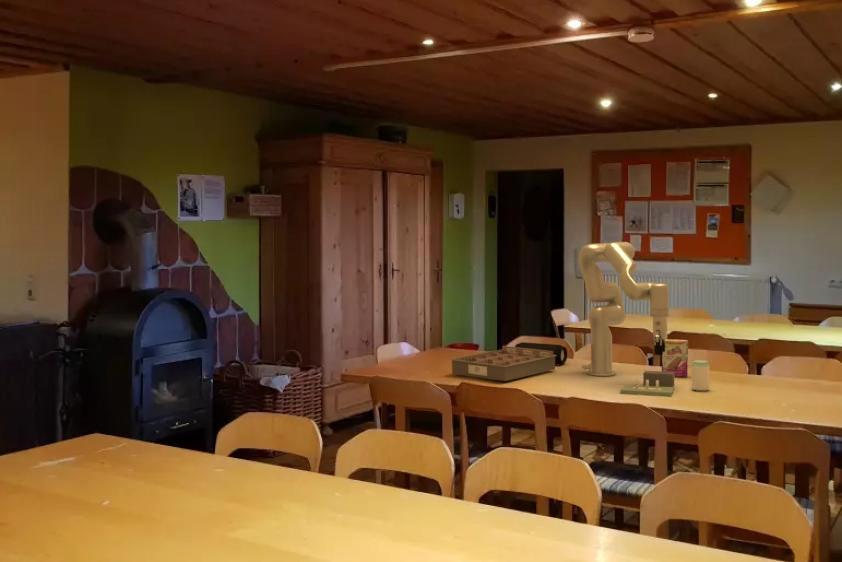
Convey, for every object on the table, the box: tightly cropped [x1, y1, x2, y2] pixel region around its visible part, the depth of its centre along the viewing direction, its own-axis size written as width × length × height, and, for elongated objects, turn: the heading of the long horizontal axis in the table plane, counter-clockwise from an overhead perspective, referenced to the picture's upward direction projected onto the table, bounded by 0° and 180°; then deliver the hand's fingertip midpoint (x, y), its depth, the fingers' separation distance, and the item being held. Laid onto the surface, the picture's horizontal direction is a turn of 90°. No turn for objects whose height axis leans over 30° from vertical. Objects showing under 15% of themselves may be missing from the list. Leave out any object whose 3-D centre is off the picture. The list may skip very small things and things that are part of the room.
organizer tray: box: [450, 345, 557, 382], centre depth 398 cm, size 32×40×10 cm
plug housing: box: [642, 370, 675, 387], centre depth 362 cm, size 12×6×6 cm, turn 68°
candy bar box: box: [661, 338, 689, 378], centre depth 384 cm, size 11×5×16 cm, turn 71°
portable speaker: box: [514, 341, 568, 365], centre depth 426 cm, size 26×10×10 cm, turn 57°
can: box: [691, 359, 711, 392], centre depth 353 cm, size 7×7×12 cm
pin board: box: [619, 378, 675, 397], centre depth 350 cm, size 20×12×5 cm, turn 68°
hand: (659, 353), depth 361 cm, fingers open, 9 cm apart
